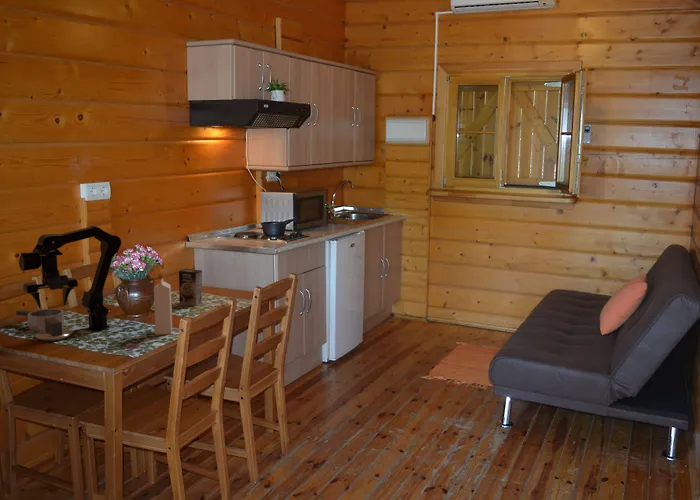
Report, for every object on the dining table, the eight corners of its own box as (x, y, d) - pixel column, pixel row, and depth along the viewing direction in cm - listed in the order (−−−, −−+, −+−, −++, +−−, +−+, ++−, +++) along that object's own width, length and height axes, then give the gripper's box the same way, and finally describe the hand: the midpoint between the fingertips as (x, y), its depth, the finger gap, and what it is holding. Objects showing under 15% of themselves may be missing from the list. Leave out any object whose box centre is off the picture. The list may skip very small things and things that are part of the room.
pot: (70, 324, 282) (69, 310, 281) (47, 332, 270) (46, 318, 269) (31, 319, 288) (30, 305, 287) (6, 327, 276) (5, 313, 275)
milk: (172, 330, 276) (171, 277, 272) (170, 334, 270) (169, 280, 266) (156, 330, 275) (155, 277, 271) (155, 334, 269) (153, 280, 265)
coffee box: (178, 304, 316) (177, 270, 314) (186, 301, 322) (185, 268, 320) (196, 306, 314) (195, 272, 311) (203, 303, 320) (202, 269, 317)
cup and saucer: (77, 338, 264) (76, 321, 262) (41, 344, 255) (40, 327, 254) (65, 330, 273) (64, 314, 272) (31, 336, 265) (30, 319, 264)
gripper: (30, 273, 248) (33, 315, 250) (81, 267, 260) (84, 307, 262) (21, 269, 256) (24, 309, 259) (71, 263, 268) (74, 301, 271)
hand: (52, 306), depth 262 cm, fingers open, 9 cm apart
